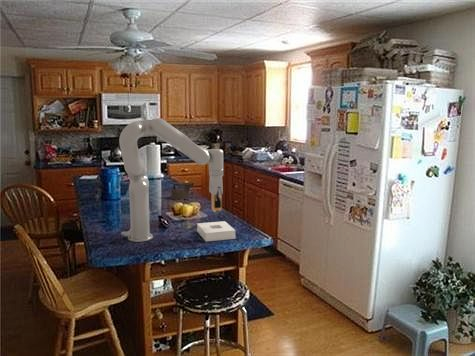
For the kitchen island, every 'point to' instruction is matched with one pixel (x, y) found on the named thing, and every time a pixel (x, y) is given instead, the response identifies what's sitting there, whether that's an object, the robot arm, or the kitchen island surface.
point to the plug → (214, 203)
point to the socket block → (215, 231)
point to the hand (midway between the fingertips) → (216, 206)
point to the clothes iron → (181, 191)
